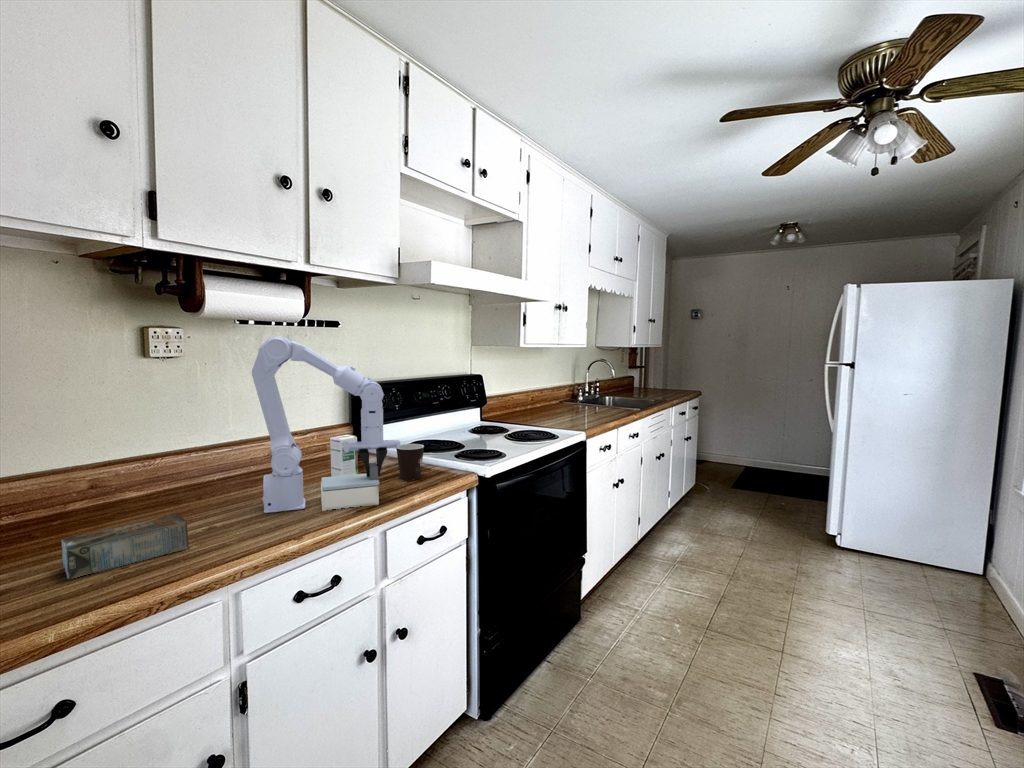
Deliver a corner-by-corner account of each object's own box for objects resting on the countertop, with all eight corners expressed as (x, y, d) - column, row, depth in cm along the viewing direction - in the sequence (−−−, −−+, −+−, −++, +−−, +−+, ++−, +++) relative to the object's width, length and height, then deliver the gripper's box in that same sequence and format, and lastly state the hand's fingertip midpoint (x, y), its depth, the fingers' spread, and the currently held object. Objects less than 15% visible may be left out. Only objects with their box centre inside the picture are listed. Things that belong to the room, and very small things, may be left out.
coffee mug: (411, 482, 150) (410, 450, 149) (390, 478, 154) (390, 447, 154) (436, 474, 160) (435, 444, 159) (416, 470, 164) (415, 441, 163)
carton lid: (322, 490, 124) (322, 473, 124) (321, 480, 133) (321, 464, 133) (379, 484, 129) (379, 468, 129) (374, 475, 138) (374, 460, 138)
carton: (322, 511, 124) (321, 491, 124) (321, 499, 134) (320, 481, 133) (378, 504, 130) (378, 486, 129) (374, 493, 139) (373, 476, 138)
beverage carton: (61, 568, 93) (59, 534, 92) (180, 539, 107) (179, 510, 106) (66, 582, 87) (64, 546, 87) (191, 550, 101) (190, 519, 101)
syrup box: (342, 487, 145) (341, 438, 144) (330, 483, 149) (329, 436, 147) (358, 482, 150) (357, 436, 148) (347, 479, 153) (346, 433, 152)
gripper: (344, 430, 126) (346, 482, 127) (401, 427, 131) (402, 476, 132) (343, 426, 132) (344, 475, 133) (397, 423, 138) (398, 470, 139)
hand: (373, 475), depth 133 cm, fingers closed on carton lid, 2 cm apart
